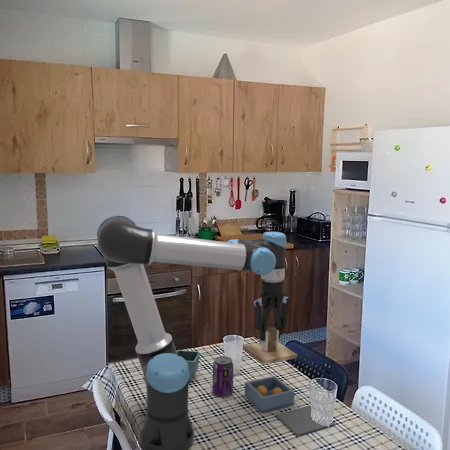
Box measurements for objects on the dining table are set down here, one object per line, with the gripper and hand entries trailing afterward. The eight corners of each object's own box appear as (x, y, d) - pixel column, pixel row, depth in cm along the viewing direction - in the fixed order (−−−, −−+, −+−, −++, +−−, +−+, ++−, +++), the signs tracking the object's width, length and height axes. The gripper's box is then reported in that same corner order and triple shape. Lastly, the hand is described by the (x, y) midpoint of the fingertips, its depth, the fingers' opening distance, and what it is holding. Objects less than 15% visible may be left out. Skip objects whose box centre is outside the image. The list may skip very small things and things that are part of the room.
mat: (297, 436, 131) (297, 434, 131) (275, 415, 142) (275, 414, 142) (335, 425, 137) (335, 423, 137) (311, 406, 148) (311, 404, 148)
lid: (262, 364, 140) (263, 339, 139) (242, 348, 152) (243, 325, 151) (297, 357, 146) (298, 333, 145) (275, 343, 158) (276, 320, 157)
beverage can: (230, 399, 152) (231, 365, 150) (210, 396, 153) (210, 363, 152) (234, 389, 159) (235, 356, 157) (214, 386, 160) (215, 354, 159)
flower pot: (170, 383, 162) (170, 359, 161) (177, 372, 171) (177, 349, 170) (194, 385, 161) (194, 361, 160) (199, 374, 169) (200, 351, 168)
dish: (262, 413, 143) (262, 398, 143) (244, 395, 154) (245, 382, 153) (293, 405, 149) (294, 391, 148) (274, 389, 159) (274, 375, 159)
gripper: (256, 284, 139) (253, 357, 142) (300, 280, 146) (296, 349, 149) (245, 279, 146) (242, 348, 149) (287, 275, 153) (284, 341, 156)
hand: (269, 348), depth 149 cm, fingers closed on lid, 3 cm apart
